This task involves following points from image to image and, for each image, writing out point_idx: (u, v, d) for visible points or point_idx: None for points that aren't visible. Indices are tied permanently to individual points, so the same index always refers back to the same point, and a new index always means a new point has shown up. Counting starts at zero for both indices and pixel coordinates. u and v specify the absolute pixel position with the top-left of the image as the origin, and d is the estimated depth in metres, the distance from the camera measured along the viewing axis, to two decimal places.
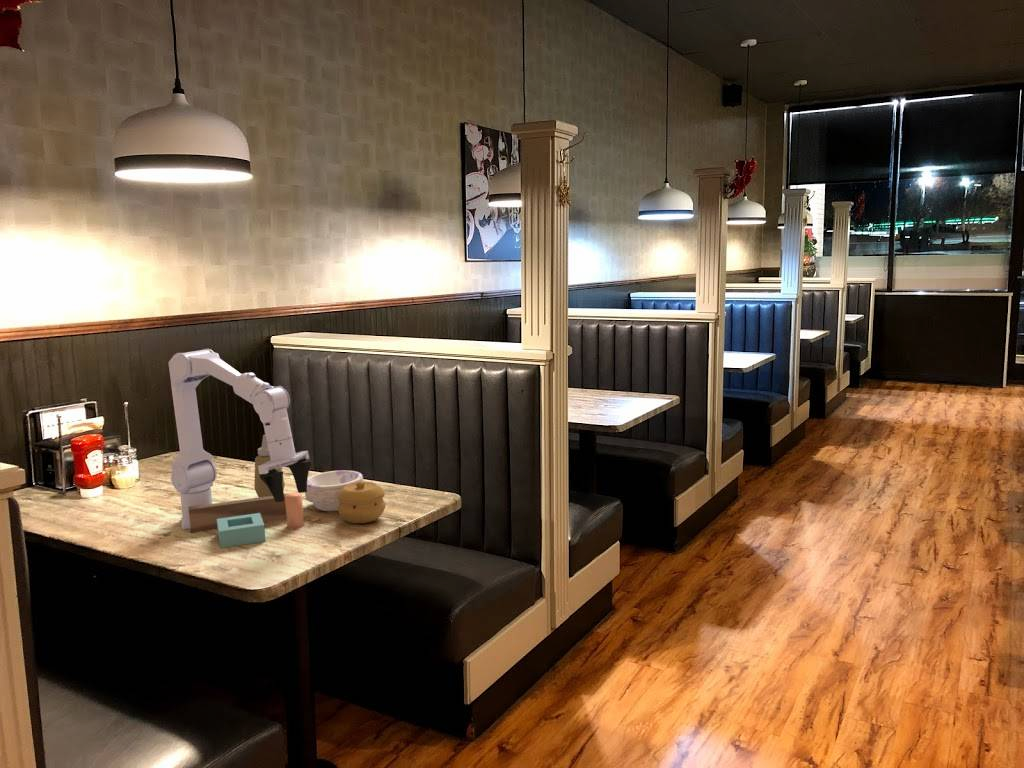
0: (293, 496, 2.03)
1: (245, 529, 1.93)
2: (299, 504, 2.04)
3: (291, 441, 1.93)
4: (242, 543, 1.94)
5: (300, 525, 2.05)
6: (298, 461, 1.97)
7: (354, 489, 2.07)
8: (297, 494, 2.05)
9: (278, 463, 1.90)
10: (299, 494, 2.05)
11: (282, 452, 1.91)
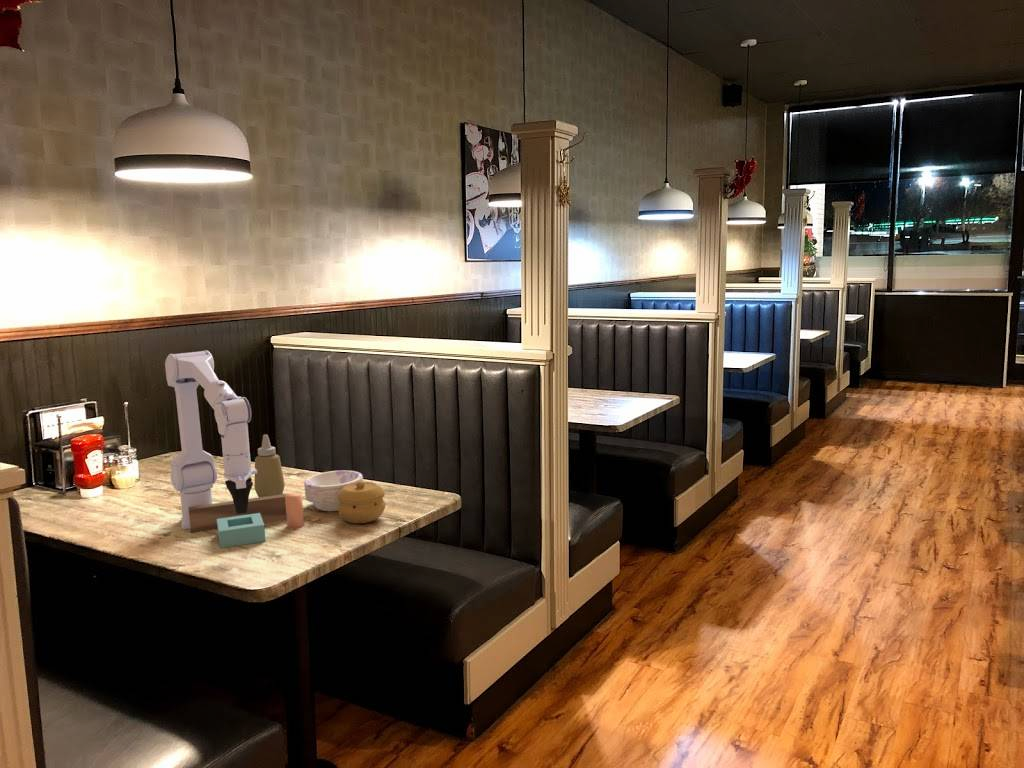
0: (293, 496, 2.03)
1: (245, 529, 1.93)
2: (299, 504, 2.04)
3: None
4: (242, 543, 1.94)
5: (300, 525, 2.05)
6: None
7: (354, 489, 2.07)
8: (297, 494, 2.05)
9: (248, 477, 1.84)
10: (299, 494, 2.05)
11: (247, 465, 1.85)
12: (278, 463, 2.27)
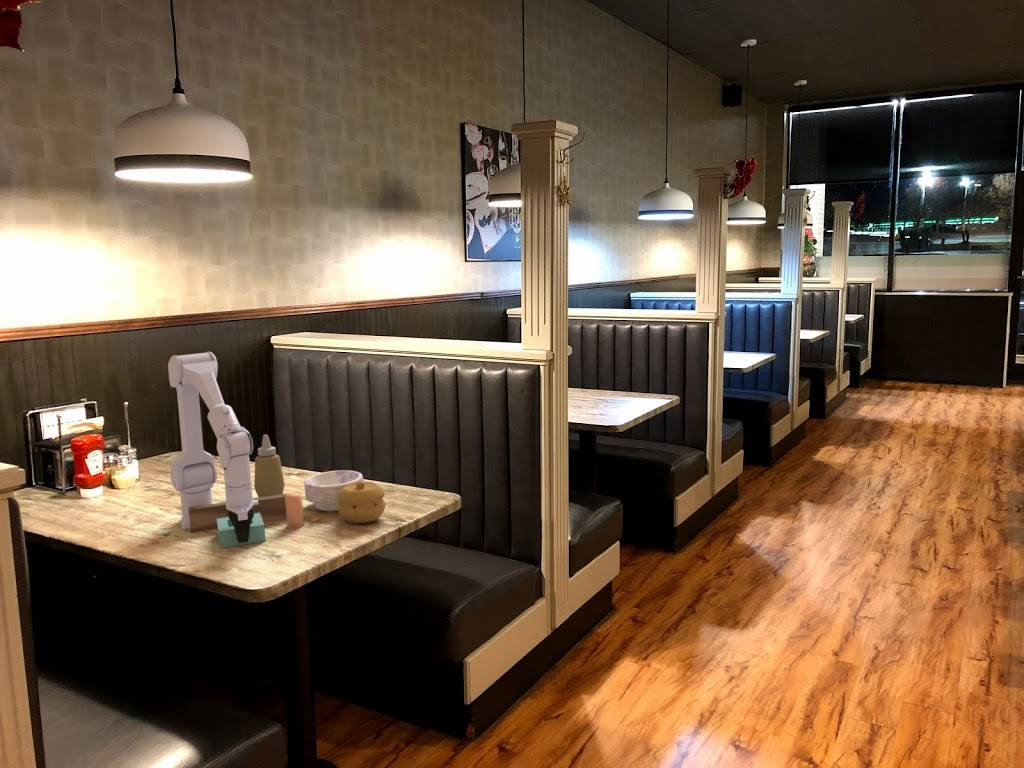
0: (293, 496, 2.03)
1: None
2: (299, 504, 2.04)
3: None
4: (242, 543, 1.94)
5: (300, 525, 2.05)
6: None
7: (354, 489, 2.07)
8: (297, 494, 2.05)
9: (250, 508, 1.88)
10: (299, 494, 2.05)
11: (249, 496, 1.90)
12: (278, 463, 2.27)
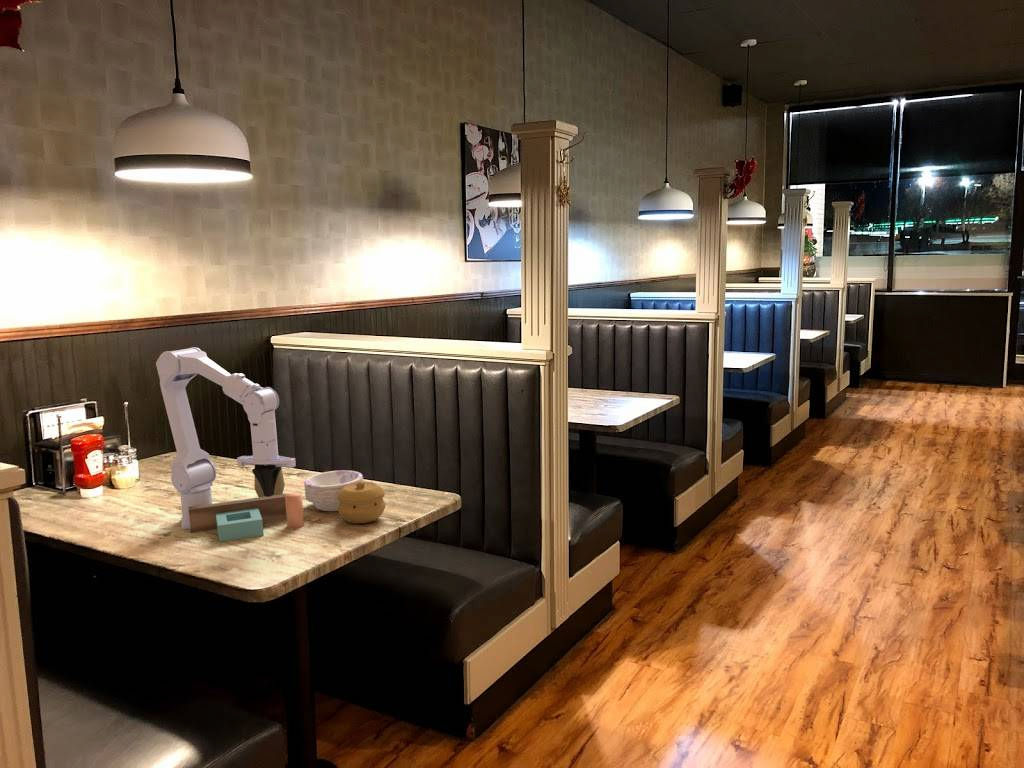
0: (294, 496, 2.04)
1: (243, 523, 1.98)
2: (299, 504, 2.04)
3: None
4: (240, 537, 1.98)
5: (300, 525, 2.05)
6: (253, 464, 2.00)
7: (354, 489, 2.07)
8: (297, 494, 2.05)
9: None
10: (299, 494, 2.05)
11: None
12: None
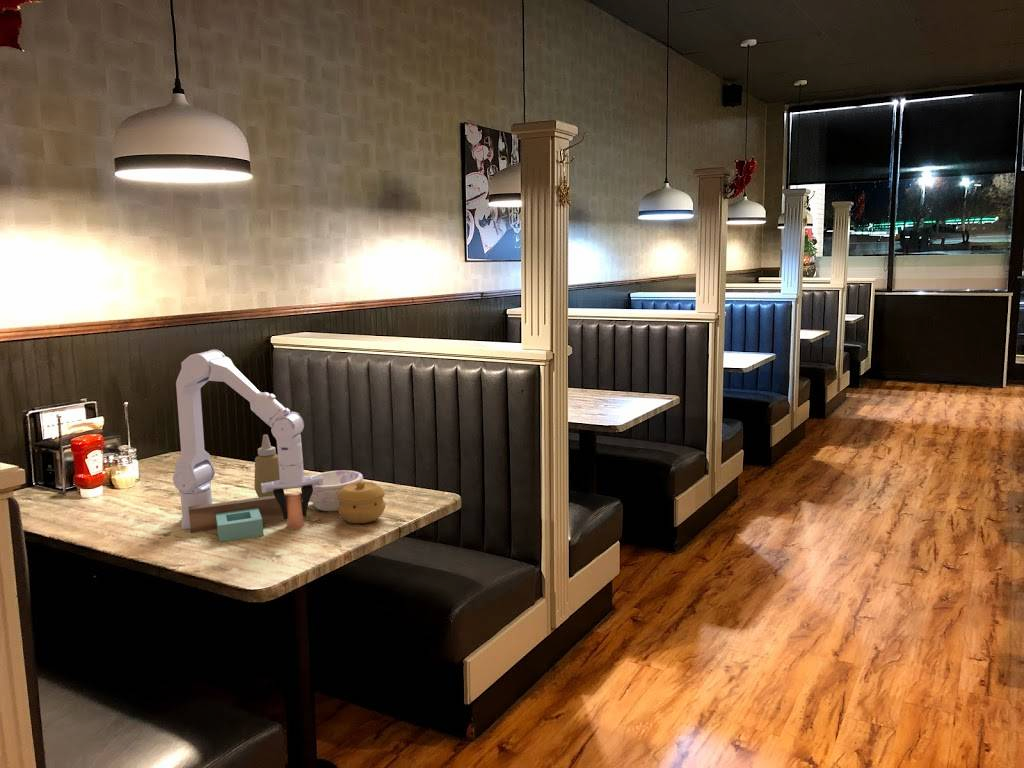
0: (294, 496, 2.04)
1: (243, 523, 1.98)
2: (299, 504, 2.04)
3: None
4: (240, 537, 1.98)
5: (300, 525, 2.05)
6: None
7: (354, 489, 2.07)
8: (297, 494, 2.05)
9: None
10: (299, 494, 2.05)
11: None
12: (278, 463, 2.27)
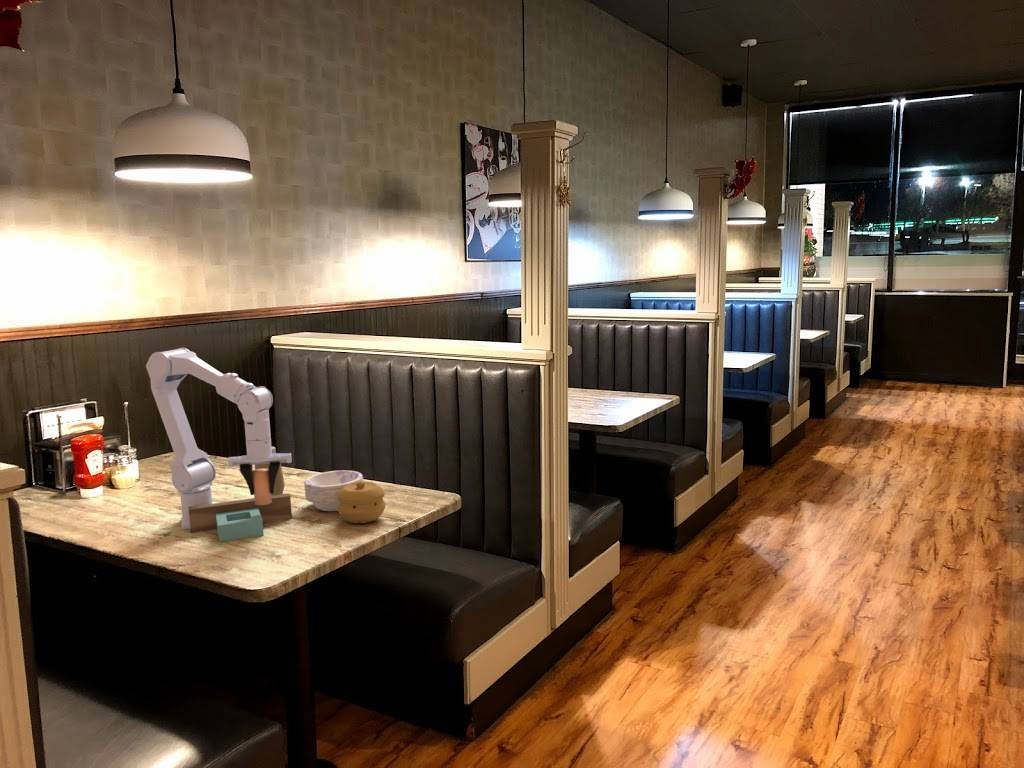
0: (260, 472, 2.00)
1: (243, 523, 1.98)
2: (266, 480, 2.01)
3: None
4: (240, 537, 1.98)
5: (267, 501, 2.02)
6: None
7: (354, 489, 2.07)
8: (265, 470, 2.02)
9: None
10: (267, 470, 2.02)
11: None
12: None
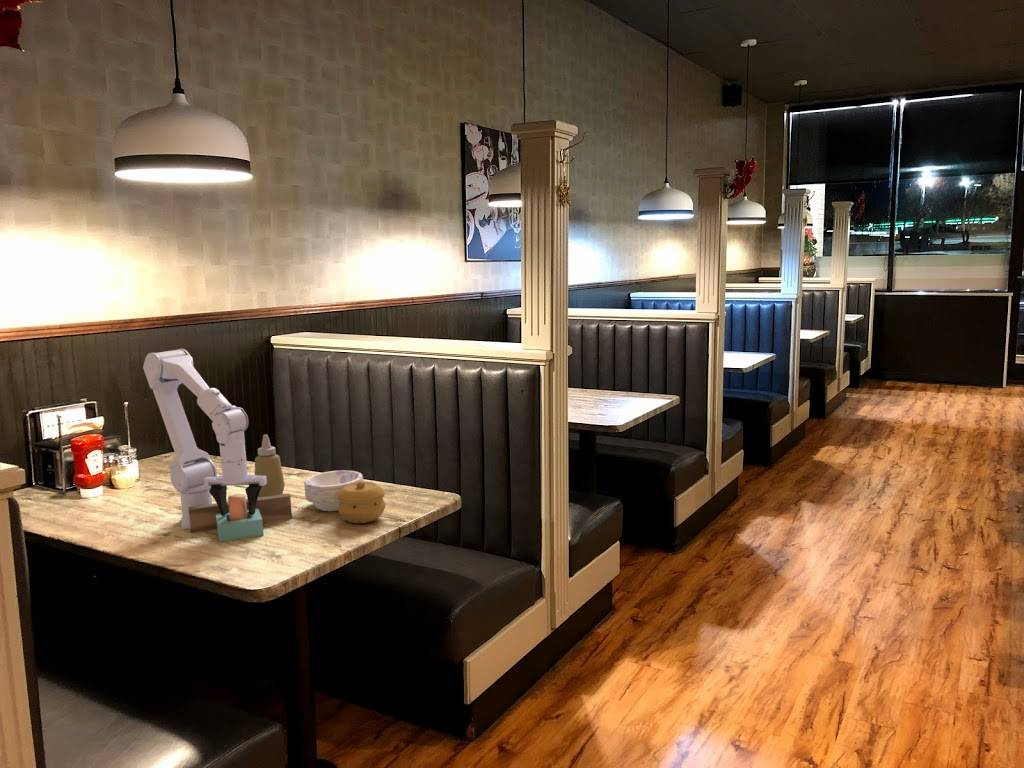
0: (234, 498, 1.99)
1: (243, 523, 1.98)
2: (240, 506, 2.00)
3: None
4: (240, 537, 1.98)
5: None
6: None
7: (354, 489, 2.07)
8: (241, 496, 2.01)
9: None
10: (242, 496, 2.01)
11: None
12: (278, 463, 2.27)
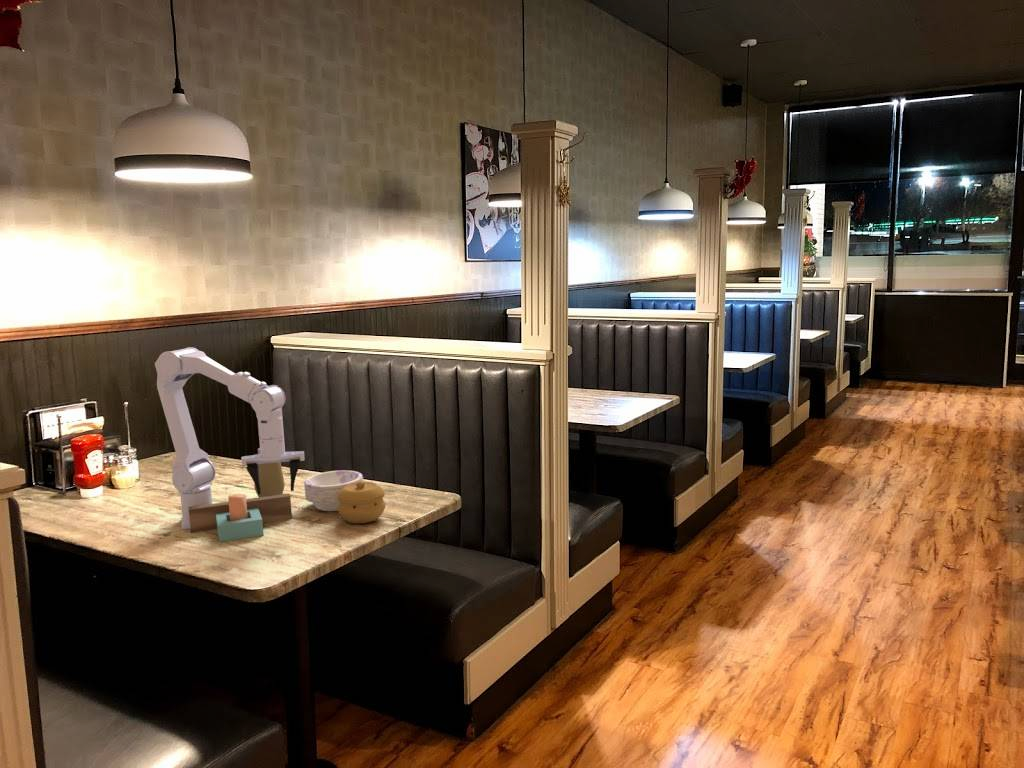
0: (234, 498, 1.99)
1: (243, 523, 1.98)
2: (240, 506, 2.00)
3: None
4: (240, 537, 1.98)
5: None
6: None
7: (354, 489, 2.07)
8: (241, 496, 2.01)
9: None
10: (242, 496, 2.01)
11: None
12: (278, 463, 2.27)
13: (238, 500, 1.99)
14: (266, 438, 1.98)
